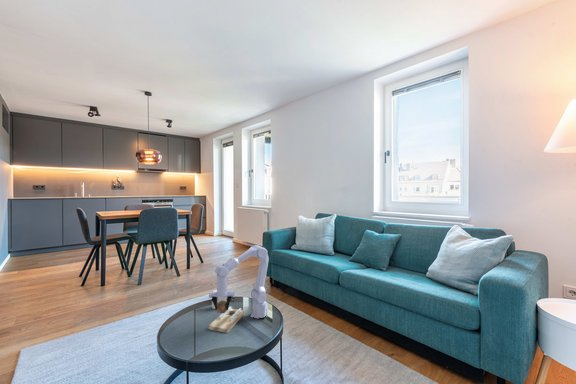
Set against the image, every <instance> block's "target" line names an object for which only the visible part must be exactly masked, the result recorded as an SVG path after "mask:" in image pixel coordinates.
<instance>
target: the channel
mask: <svg viewBox="0 0 576 384" xmlns="http://www.w3.org/2000/svg"><path fill="white" fill-rule="evenodd" d="M231 309H232V306H229V308H228V310H227V311H226V312H225V313H220V314H219V316H218V317H219V319H220V320H221V319H222V318H223V317H224V316H225V315H226V314H227V313H228V312H229V311H230V310H231ZM241 310H242V308H241V307H240V308H239V309H237V311H236V312H235V313H234V314H233V315H232V316H231V317H230V321H232V320H233V319H234V318H235V317H236V316H237V315H238V314H239V313H240V312H241Z"/></svg>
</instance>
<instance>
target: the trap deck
mask: <svg viewBox="0 0 576 384" xmlns="http://www.w3.org/2000/svg"><path fill="white" fill-rule="evenodd" d="M237 310H238V309H237V308H231V310H230V311H229V312H228V313H227V314H226V315H225V316H224V317H223V318H222V319H221V320H220V319H219V316H218V317H217V318H215V319H214V320H213V321H212V322H211V323H210V324H209V325H208V330H211V331H217V332H222V333H229V332H230V331H231V330H232V329H233V327H234V326H235V325H236V324H237V323H238V322H239V321H240V320H241V319H242V318H243V316H244V315H245V314H246V310H242V309H241V312H240V313H239V314H238V315H237V316H236V317H235V318H234V319H233V320H232V321H230V317H231V316H232V315H233V314H234V313H235V312H236V311H237Z"/></svg>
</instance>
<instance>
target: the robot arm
mask: <svg viewBox="0 0 576 384" xmlns="http://www.w3.org/2000/svg"><path fill="white" fill-rule="evenodd" d="M268 252H269V251H268V250H267V249H266V248H265V247H264V246H260V245H259V244H254V245H252V246H250V248H248V249H247V250H245V251H244V252H243V253H241V254H240V255H239V256H237V257H230V258H229V260H227V261H226V262H222V264H219V265H217V266H216V268H215V270H214V272H215V274H216V289H217V292H216V293H212V292H210V293H209V294H208V299H211V303H212V302H213V303H214V306H215V309H214V310H215V311H217V298H218V297H227V310H228V308H229V307H230V304H231V303H230V302H231V300H232V299H233V298H235V297H236V293H235V292H230V291H228V277H227V276H228V274H229V273H230V272H231V271H232V270H234V269H236V268H238V267H239V265H240V264H241V263H242V262H243V261H245V260H247V259H249V258H251V257H252V258H257V259H258V260H259V265H258V269H257V270H258V271H257V277H256V281H255V282H256V283H255V285H254V286H253V288H252V291H251V292H250V296H251V298H252V313H251V315H250V318H253V317H254V318H255V319H259V318H258V317H265V316H266V315H267V313H269V302H267V300H266V299H267V296H266V295H267V293H266V292H267V291H266V288H265V284H266V279H267V272H268V267H269V260H270V258H269V257H270V256H269V254H268ZM267 316H268V315H267ZM267 316H266V317H267Z"/></svg>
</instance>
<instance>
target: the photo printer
mask: <svg viewBox="0 0 576 384" xmlns="http://www.w3.org/2000/svg"><path fill="white" fill-rule="evenodd" d="M216 292H217V288H216V289H214V290H212V292H211V293H216ZM221 300H222V301H227V297H218V298H217V303H218V302H220V301H221ZM211 309H213V310H216V309H215V306H214V303H213V302H212V301H211Z"/></svg>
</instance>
